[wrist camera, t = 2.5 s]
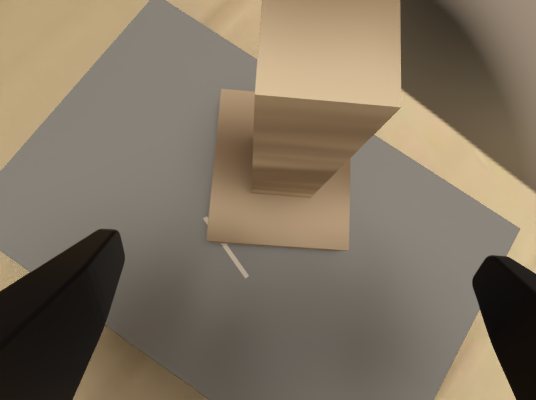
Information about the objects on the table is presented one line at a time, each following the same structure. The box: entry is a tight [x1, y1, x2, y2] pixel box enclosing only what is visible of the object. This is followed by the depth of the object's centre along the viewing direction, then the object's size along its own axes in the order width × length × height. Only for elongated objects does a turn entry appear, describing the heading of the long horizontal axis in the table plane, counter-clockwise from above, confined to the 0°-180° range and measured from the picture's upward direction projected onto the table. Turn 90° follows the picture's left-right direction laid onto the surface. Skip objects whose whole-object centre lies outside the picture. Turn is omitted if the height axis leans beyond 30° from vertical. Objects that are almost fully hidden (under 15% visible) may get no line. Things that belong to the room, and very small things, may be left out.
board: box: [0, 0, 520, 400], centre depth 19 cm, size 26×17×2 cm, turn 56°
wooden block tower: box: [206, 0, 401, 251], centre depth 13 cm, size 8×7×12 cm
